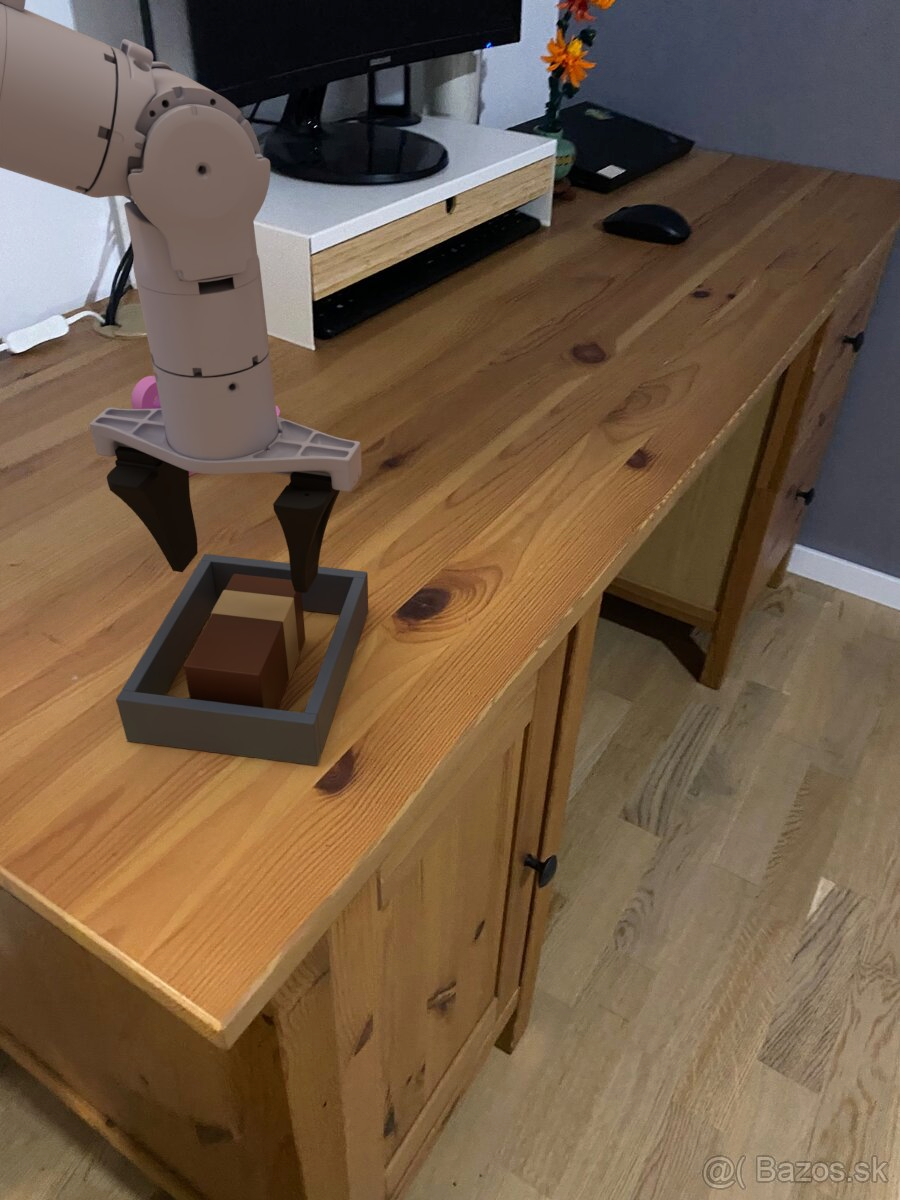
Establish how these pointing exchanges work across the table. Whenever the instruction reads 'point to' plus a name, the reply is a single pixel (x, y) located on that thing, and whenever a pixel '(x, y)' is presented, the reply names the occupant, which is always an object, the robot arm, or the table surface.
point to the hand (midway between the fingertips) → (245, 572)
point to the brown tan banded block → (248, 644)
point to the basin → (232, 724)
